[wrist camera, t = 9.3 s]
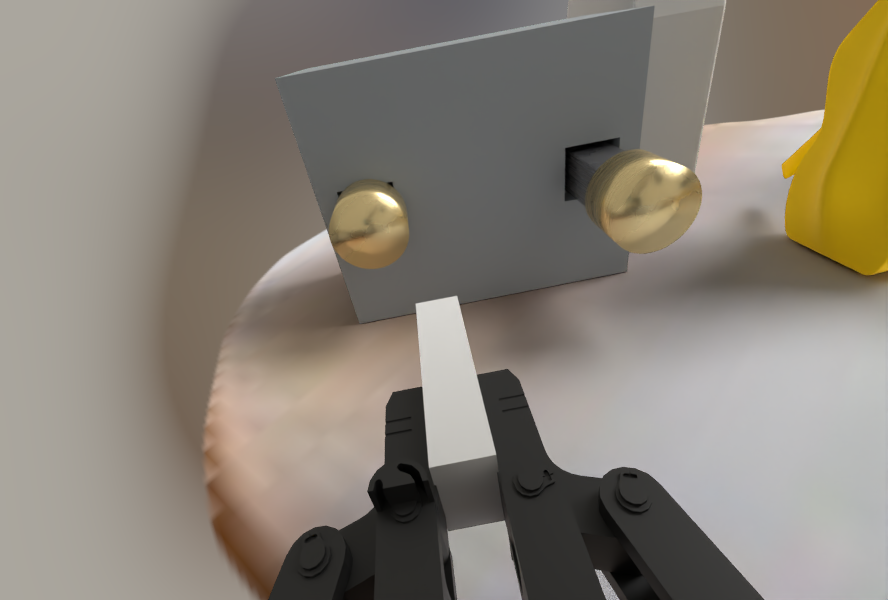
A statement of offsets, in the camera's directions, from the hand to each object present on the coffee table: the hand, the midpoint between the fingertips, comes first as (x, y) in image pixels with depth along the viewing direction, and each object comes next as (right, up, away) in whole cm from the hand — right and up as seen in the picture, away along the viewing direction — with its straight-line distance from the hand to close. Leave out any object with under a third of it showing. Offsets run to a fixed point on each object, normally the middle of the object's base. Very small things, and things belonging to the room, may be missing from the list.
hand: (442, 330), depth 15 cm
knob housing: (+3, +3, +18) cm, 19 cm away
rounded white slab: (+18, +14, +30) cm, 38 cm away
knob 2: (+10, +6, +9) cm, 15 cm away
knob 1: (-4, +5, +13) cm, 14 cm away
